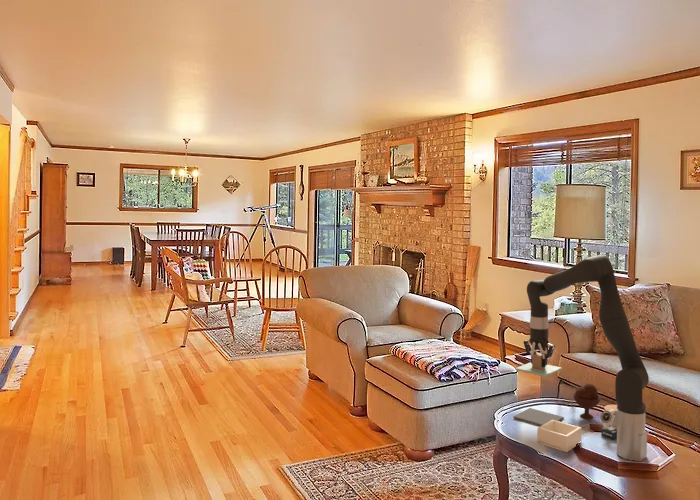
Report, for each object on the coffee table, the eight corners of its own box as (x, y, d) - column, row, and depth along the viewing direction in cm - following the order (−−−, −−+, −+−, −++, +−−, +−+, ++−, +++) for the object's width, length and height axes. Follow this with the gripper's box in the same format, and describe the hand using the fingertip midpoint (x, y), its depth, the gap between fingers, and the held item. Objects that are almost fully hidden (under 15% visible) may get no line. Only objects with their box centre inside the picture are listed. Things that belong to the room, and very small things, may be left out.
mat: (563, 419, 248) (563, 416, 248) (547, 428, 238) (547, 426, 238) (529, 410, 259) (529, 407, 259) (513, 418, 250) (513, 416, 250)
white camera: (633, 425, 240) (634, 403, 239) (630, 434, 231) (630, 411, 230) (605, 420, 245) (606, 399, 245) (601, 429, 236) (602, 406, 236)
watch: (597, 436, 229) (598, 409, 228) (611, 432, 233) (612, 406, 232) (609, 441, 224) (610, 414, 223) (623, 437, 228) (624, 410, 227)
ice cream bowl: (595, 412, 254) (595, 379, 253) (603, 422, 243) (604, 387, 242) (570, 412, 256) (570, 379, 254) (577, 421, 244) (578, 387, 243)
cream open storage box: (581, 442, 224) (581, 427, 223) (566, 452, 215) (567, 436, 215) (552, 433, 232) (552, 419, 232) (537, 442, 224) (537, 427, 224)
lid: (562, 371, 247) (562, 353, 246) (546, 379, 237) (546, 360, 236) (532, 365, 257) (532, 348, 256) (515, 372, 247) (515, 354, 246)
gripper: (559, 327, 243) (558, 367, 244) (528, 322, 253) (528, 361, 254) (550, 330, 238) (550, 371, 239) (519, 325, 248) (519, 364, 249)
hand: (538, 365), depth 247 cm, fingers closed on lid, 4 cm apart
